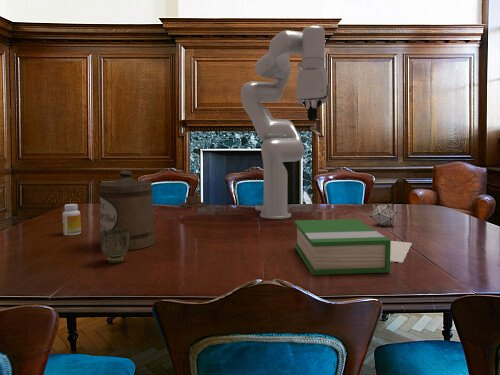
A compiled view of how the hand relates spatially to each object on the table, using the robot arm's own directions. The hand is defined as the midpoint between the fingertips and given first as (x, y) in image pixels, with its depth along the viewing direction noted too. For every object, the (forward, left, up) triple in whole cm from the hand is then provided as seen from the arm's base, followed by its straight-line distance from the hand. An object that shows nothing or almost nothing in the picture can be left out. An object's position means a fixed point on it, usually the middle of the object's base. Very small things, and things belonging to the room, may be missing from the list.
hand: (312, 120), depth 140 cm
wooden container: (-40, -47, -37) cm, 72 cm away
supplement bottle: (-67, -44, -37) cm, 88 cm away
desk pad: (+24, -21, -37) cm, 49 cm away
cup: (-30, -62, -37) cm, 78 cm away
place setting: (-68, +30, -38) cm, 83 cm away
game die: (+22, +15, -37) cm, 46 cm away
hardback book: (+13, -25, -33) cm, 43 cm away
